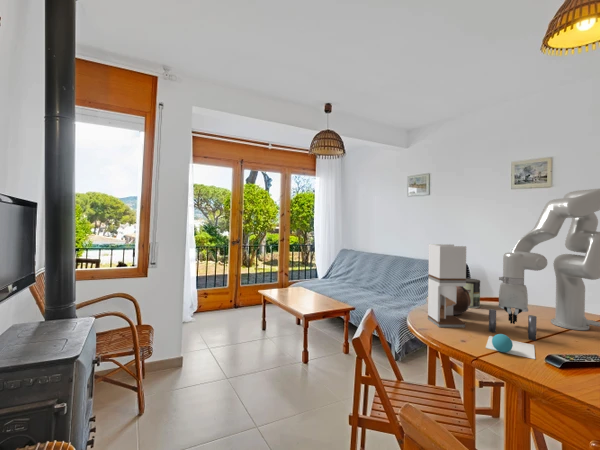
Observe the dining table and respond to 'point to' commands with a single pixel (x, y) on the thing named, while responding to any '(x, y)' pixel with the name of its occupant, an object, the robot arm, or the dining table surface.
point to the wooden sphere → (461, 301)
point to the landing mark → (516, 348)
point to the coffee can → (473, 291)
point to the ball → (502, 343)
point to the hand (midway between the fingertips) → (512, 322)
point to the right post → (532, 327)
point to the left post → (492, 320)
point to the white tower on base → (445, 282)
